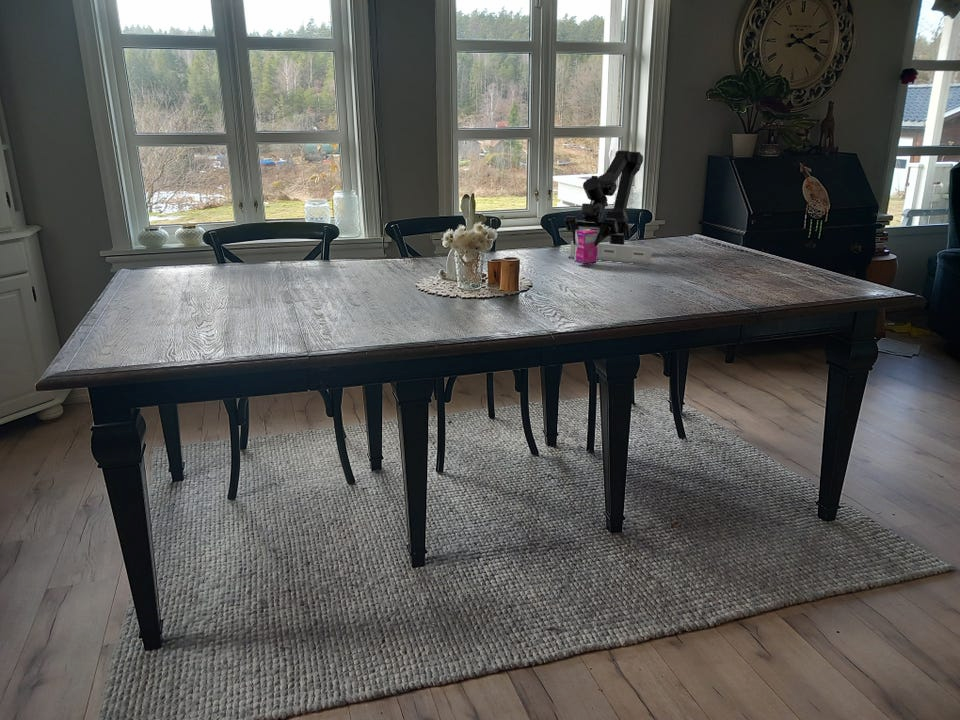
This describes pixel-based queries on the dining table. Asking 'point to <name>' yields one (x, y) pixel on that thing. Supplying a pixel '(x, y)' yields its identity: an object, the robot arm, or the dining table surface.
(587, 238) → the supplement box
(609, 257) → the panel
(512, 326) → the dining table surface
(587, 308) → the dining table surface
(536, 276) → the dining table surface
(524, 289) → the dining table surface
